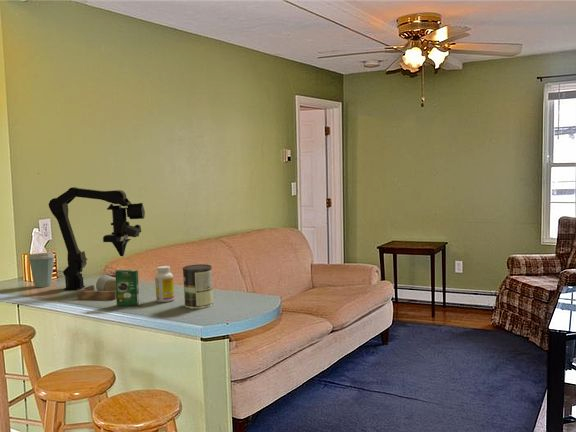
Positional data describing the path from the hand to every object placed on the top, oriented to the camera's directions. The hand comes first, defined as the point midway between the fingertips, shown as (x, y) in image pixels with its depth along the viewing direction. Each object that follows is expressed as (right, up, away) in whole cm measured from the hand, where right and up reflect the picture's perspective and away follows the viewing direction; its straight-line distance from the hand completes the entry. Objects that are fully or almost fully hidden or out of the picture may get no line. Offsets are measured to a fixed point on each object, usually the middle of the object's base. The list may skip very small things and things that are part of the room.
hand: (122, 256), depth 249 cm
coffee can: (+39, -15, -39) cm, 57 cm away
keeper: (-2, -15, -17) cm, 22 cm away
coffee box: (+12, -16, -35) cm, 40 cm away
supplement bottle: (+25, -15, -29) cm, 41 cm away
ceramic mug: (0, -15, -15) cm, 21 cm away
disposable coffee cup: (-37, -14, +8) cm, 40 cm away
